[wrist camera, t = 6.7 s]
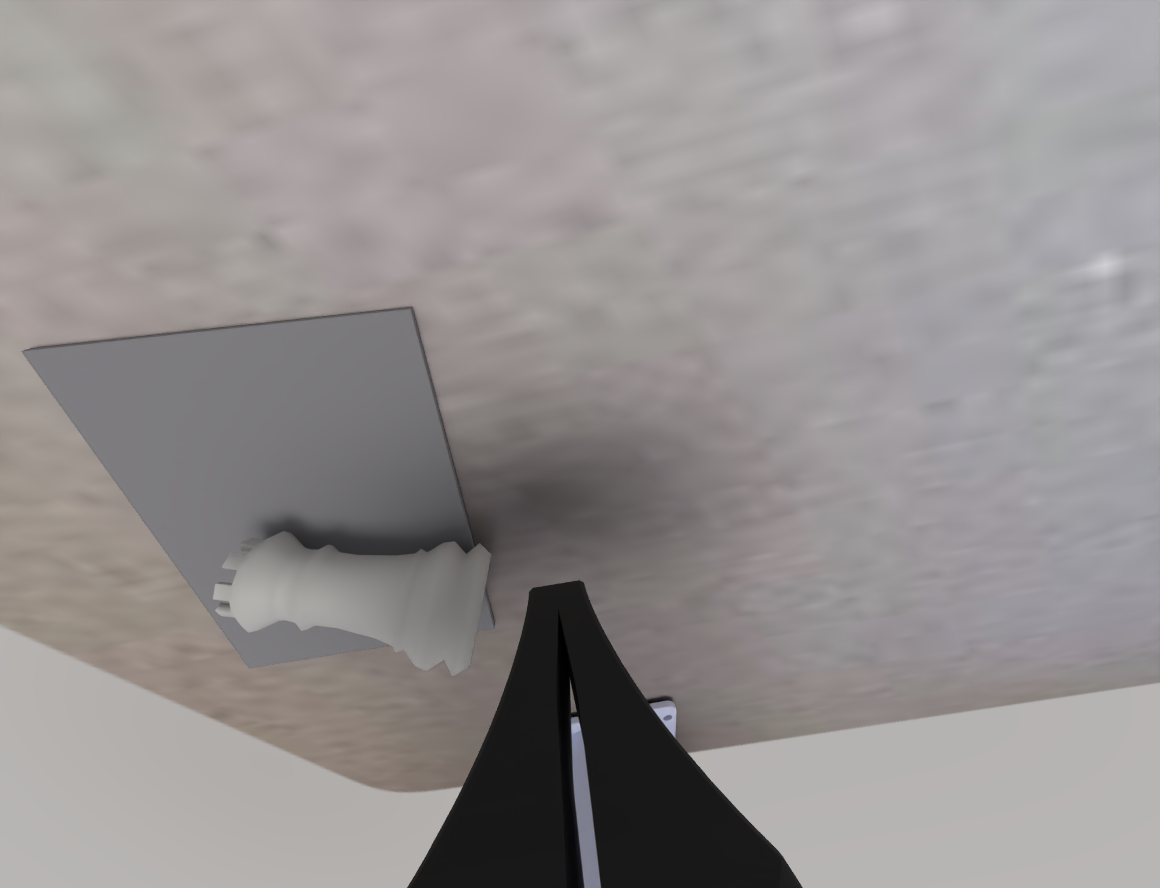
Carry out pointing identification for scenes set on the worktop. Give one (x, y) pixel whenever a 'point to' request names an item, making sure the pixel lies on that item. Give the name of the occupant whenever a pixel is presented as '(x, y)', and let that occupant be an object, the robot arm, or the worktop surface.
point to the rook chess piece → (363, 595)
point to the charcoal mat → (270, 448)
